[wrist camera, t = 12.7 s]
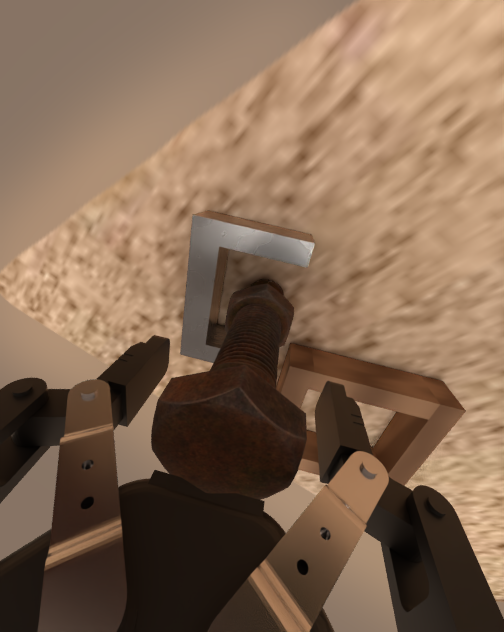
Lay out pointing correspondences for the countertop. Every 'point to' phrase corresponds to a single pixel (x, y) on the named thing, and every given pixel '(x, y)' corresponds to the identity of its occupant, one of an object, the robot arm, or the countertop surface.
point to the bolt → (236, 407)
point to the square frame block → (378, 390)
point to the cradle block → (210, 264)
